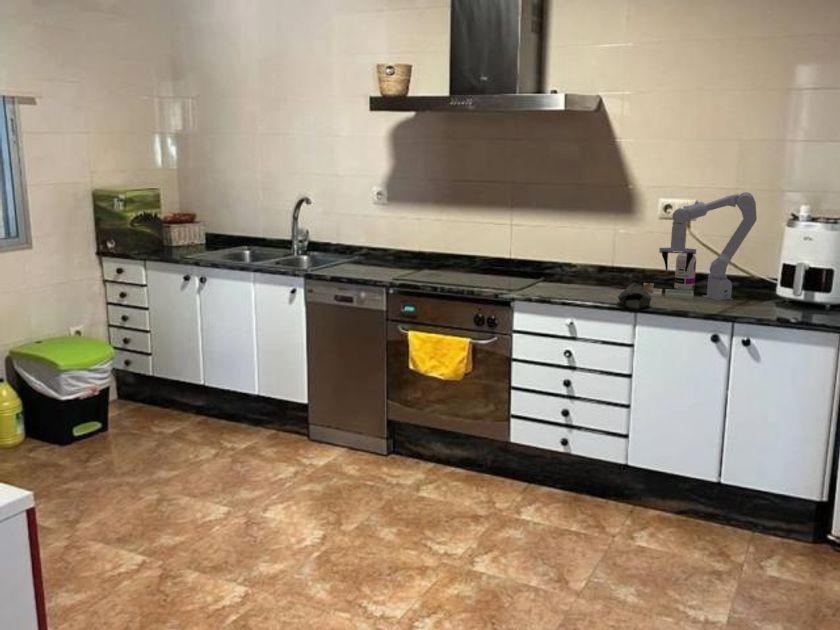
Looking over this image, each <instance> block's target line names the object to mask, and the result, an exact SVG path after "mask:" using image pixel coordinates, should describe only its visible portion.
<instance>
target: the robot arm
mask: <svg viewBox="0 0 840 630" xmlns="http://www.w3.org/2000/svg"><path fill="white" fill-rule="evenodd" d="M727 206H729V207H733V208H736V206H737V208H738V209H739V211H740V212H741V215H742V220H741V222H740V223H739V225H738V227H736V229H735V231H734V232H733V234H732V235H731V237H730V238H729V240H728V242H727V243H726V245H725V247H724V248H723V249H722V251H721V253H720V254H719V255H718V257H717V258H716V259H714V260H713V261H712V262H711V263H710V267H709V272H710V273H709V274H708V276H707V286H706V287H707V289H706V294H705V295H703V297H704V298H707V299H711V300H716V301H723V300H724V301H725V300H731V301H732V300H733V298H732V291H733V283H732V281H731V280H730V279H728V275H727V274H726V273H727V268H728V265H729V264H730V262H731V260H732V259H733V256H735V254H736V252H737V251H738V250H739V248H740V246H741V245H742V243H743V241H744V240H745V238H746V237H747V236H748V234H749V233H750V231H751V230H752V228H753V226H754V225H755V223H756V222H757V204H756V199H755V198H754V196H753V194H752V193H750V192H746V191H745V192H742V193H737V194H730V195H728V196H725V197H722V198H719V199H718V198H717V199H715V200H713V201H710V202H707V203H704V202H703V201H695V202H694V203H693V204H690V205H688V206H686V205H683V206H682V208H681V207H680V208H677V209H676V210H674V211H673V213H672V215H671V216H672V227H671V240H670V247H659V250H658V252H659V254H661V256H662V258H663V263H664V266H665V267H664V268H665V271H666V272H667V271H668V270H669V269H668V259H669V254H687V258H686V267H685V272H687V268H688V265H689V263H690V261H691V259H692V257H693V255H697V249H696V248H686V242H687V240H686V239H687V220H688V221H692V220H694V219H695V220H696V219H698V218H701V217H704V216H706V215H707V213H708V212H709V211H714V210H717V209H720V208H724V207H727Z"/></svg>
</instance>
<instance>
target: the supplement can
mask: <svg viewBox="0 0 840 630" xmlns="http://www.w3.org/2000/svg"><path fill="white" fill-rule="evenodd" d="M686 258H687V254H682V253H677V256H676V258H675V259H676V260H675V272H674V289H675V290H689V291H693V290H694V289H695V281H696V270H697V257H696V254H693V257H692V259H691V261H690V263H689V265H688V268H687V272H685V267H686Z"/></svg>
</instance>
